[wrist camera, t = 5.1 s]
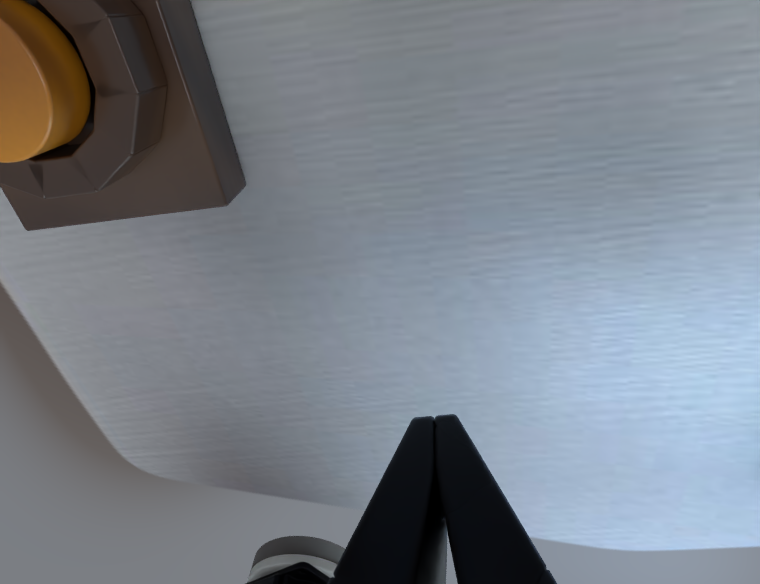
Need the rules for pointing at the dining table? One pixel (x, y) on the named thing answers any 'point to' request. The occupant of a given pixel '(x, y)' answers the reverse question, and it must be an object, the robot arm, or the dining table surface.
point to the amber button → (38, 84)
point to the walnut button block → (131, 122)
